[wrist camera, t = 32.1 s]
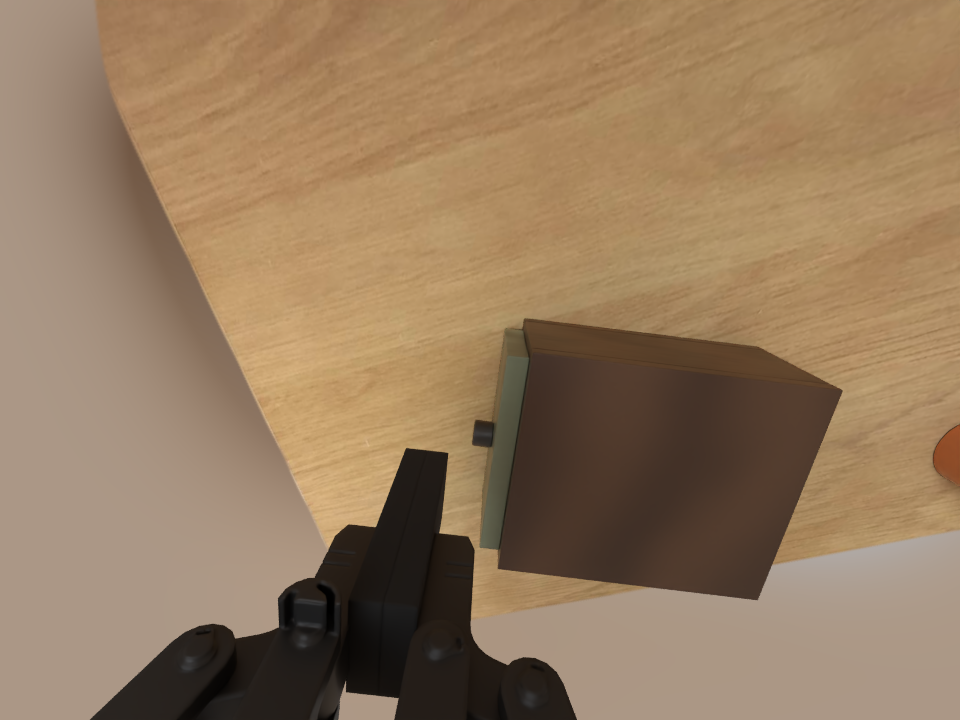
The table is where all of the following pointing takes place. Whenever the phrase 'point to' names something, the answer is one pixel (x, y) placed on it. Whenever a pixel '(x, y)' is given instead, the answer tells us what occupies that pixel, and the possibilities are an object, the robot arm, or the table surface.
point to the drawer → (501, 436)
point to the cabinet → (658, 459)
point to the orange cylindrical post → (949, 456)
